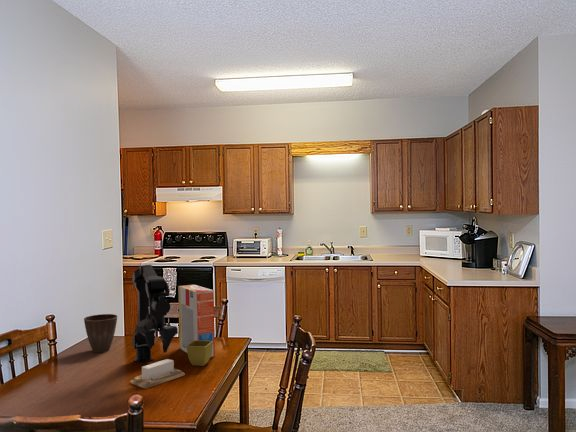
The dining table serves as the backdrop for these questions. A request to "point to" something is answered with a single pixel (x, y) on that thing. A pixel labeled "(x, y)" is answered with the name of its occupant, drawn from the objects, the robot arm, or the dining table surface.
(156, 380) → the beige rectangular tray
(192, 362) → the flower pot
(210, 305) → the pasta box
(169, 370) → the door
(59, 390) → the dining table surface
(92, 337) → the plant pot
